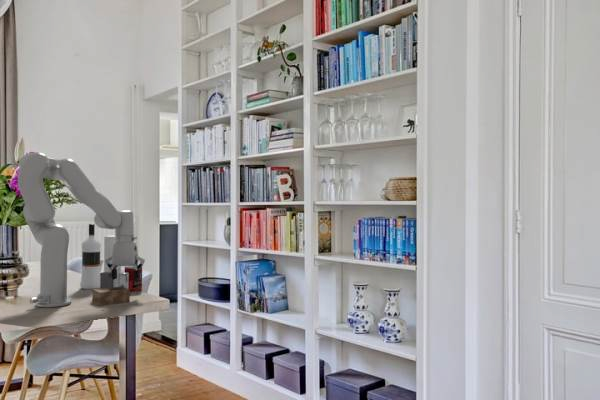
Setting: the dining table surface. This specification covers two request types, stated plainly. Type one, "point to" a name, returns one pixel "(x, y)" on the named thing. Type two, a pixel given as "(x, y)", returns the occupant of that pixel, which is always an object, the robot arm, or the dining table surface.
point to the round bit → (123, 280)
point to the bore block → (110, 295)
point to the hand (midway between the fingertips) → (125, 279)
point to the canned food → (133, 284)
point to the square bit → (106, 280)
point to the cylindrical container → (108, 252)
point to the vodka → (91, 261)
